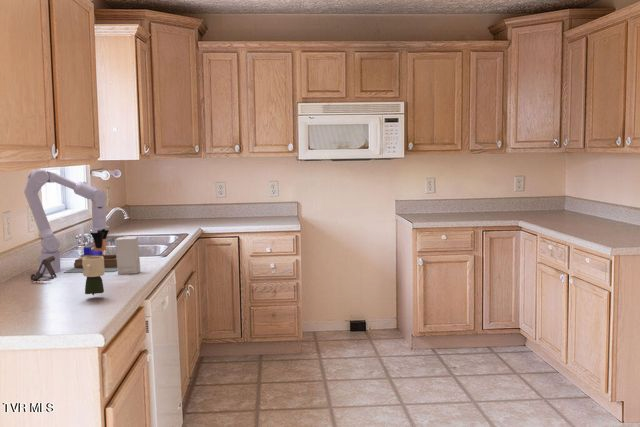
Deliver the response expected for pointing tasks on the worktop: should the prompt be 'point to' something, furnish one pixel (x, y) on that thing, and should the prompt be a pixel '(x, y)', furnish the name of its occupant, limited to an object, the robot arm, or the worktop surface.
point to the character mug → (93, 274)
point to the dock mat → (80, 270)
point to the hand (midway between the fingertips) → (100, 247)
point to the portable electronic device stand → (47, 264)
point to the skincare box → (127, 255)
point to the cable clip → (89, 252)
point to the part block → (101, 247)
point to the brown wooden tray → (108, 261)
